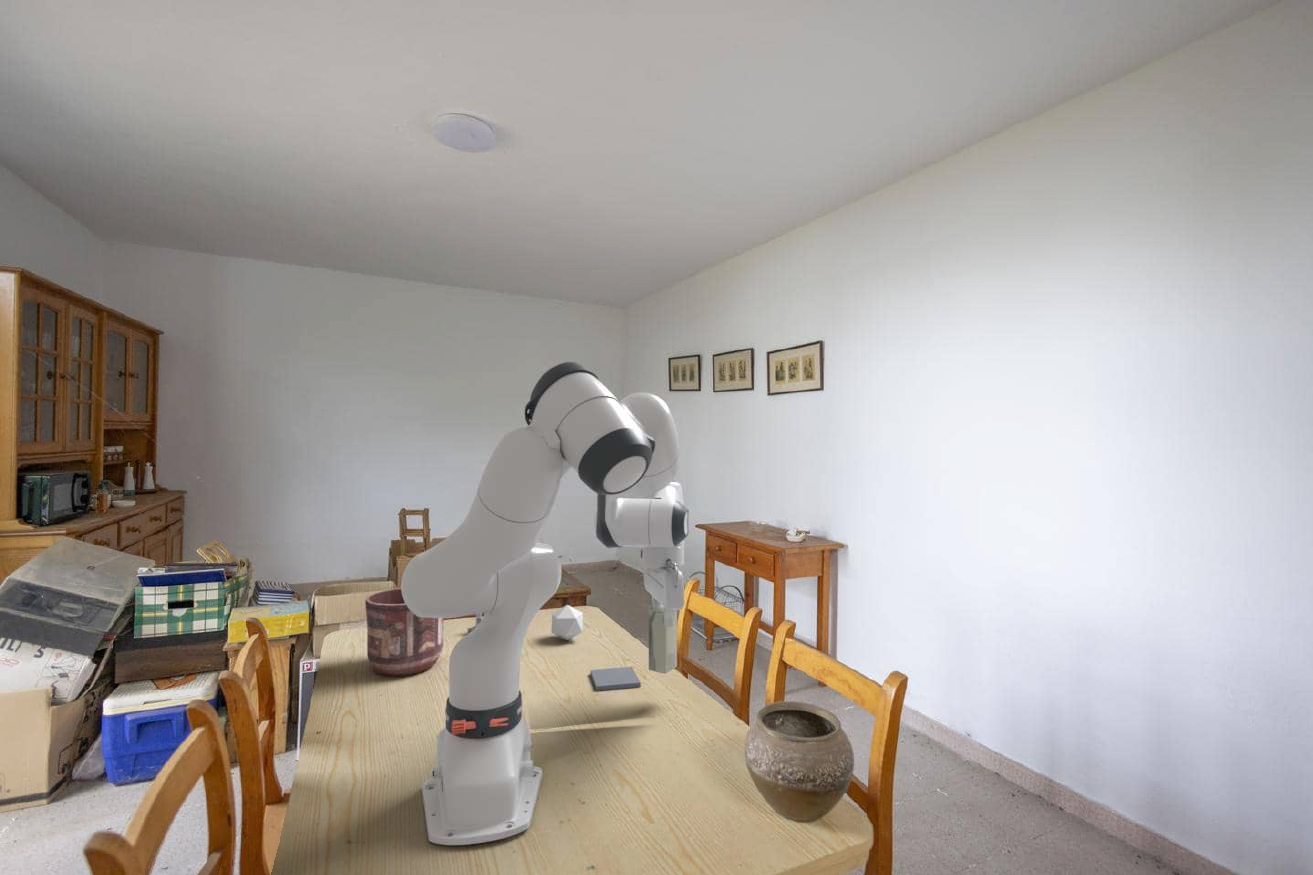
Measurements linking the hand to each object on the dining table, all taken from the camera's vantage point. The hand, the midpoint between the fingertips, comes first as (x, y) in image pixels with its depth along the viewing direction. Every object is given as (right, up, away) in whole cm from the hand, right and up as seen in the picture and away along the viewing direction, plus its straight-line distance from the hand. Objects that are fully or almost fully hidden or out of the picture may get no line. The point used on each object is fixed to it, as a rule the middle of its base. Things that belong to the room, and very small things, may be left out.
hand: (662, 621), depth 129 cm
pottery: (-62, -17, +17) cm, 66 cm away
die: (-26, -18, +40) cm, 51 cm away
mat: (-11, -17, +11) cm, 23 cm away
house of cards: (-54, -18, +42) cm, 70 cm away
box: (0, -10, 0) cm, 10 cm away
